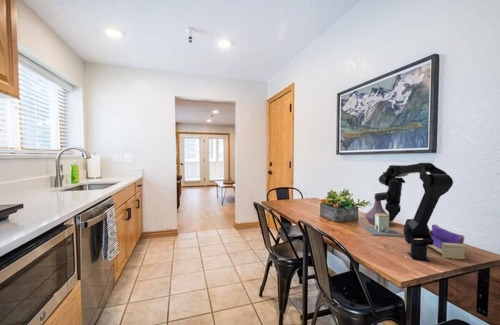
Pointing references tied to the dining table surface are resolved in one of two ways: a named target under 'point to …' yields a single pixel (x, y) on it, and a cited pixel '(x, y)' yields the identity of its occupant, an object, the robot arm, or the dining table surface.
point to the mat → (382, 231)
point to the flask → (375, 211)
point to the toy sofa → (447, 243)
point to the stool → (381, 222)
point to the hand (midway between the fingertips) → (391, 218)
